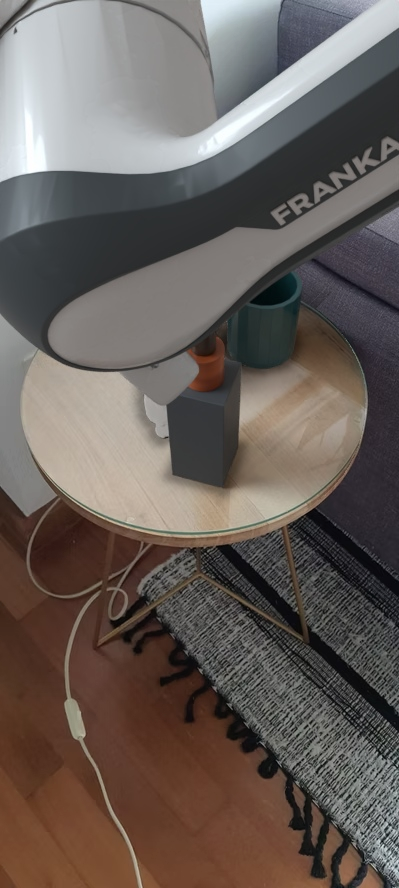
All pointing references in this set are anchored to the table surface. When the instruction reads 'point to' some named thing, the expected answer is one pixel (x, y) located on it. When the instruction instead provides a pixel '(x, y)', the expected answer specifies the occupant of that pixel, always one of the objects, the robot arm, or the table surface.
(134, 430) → the table surface
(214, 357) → the rod with orange collar
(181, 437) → the stand
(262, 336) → the teal cup
